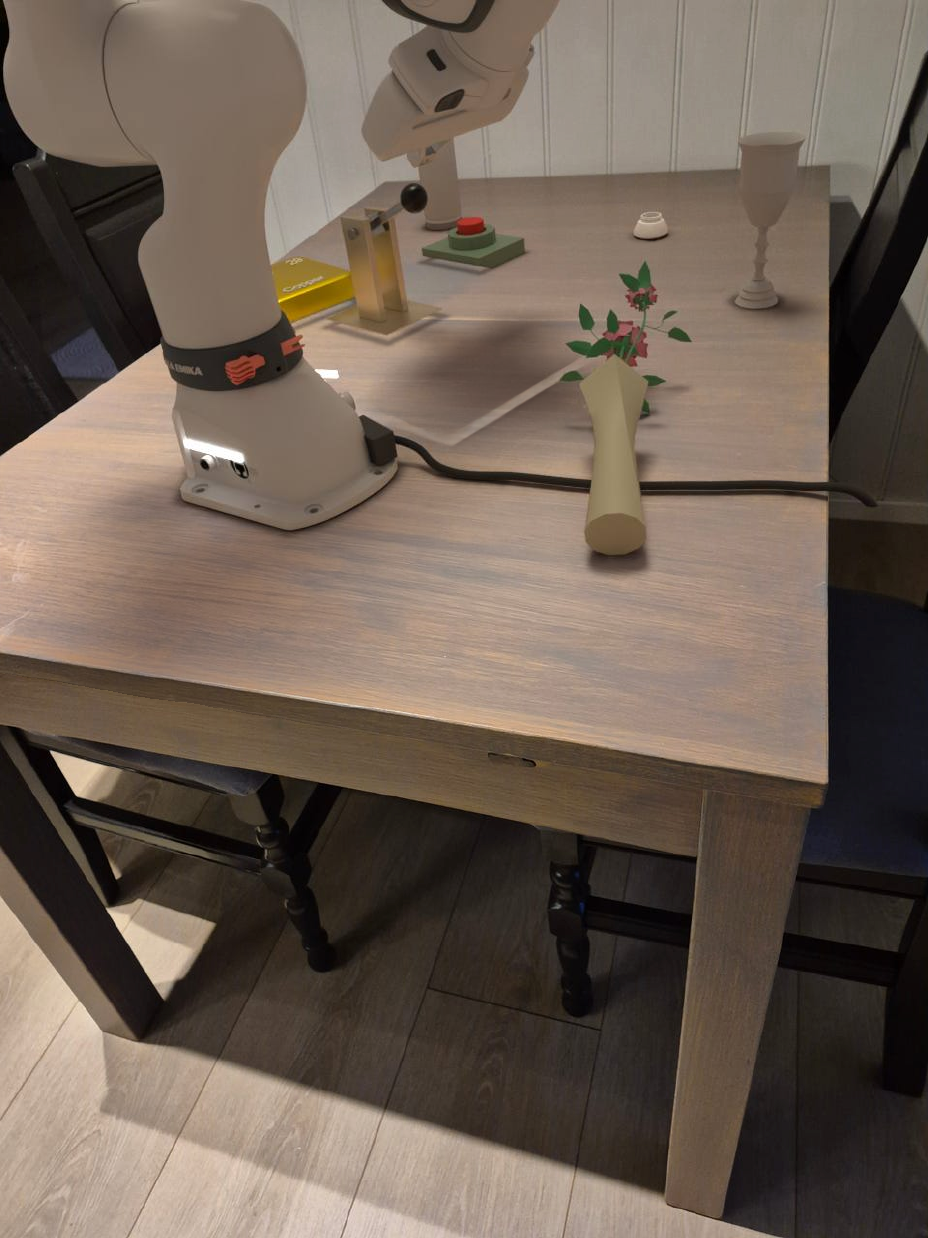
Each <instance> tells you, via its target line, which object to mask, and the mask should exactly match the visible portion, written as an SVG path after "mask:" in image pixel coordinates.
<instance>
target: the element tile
mask: <svg viewBox="0 0 928 1238" xmlns="http://www.w3.org/2000/svg"><path fill="white" fill-rule="evenodd" d="M271 269H272V274H273V278H274V283H275V287H276V292H277V296H278V300H279V305H280V309H281V310H282V311H284V312H285V314H286V316H287V318H288V320H289V322H290V324H291V323H293V322H295V321H298V320H301V319H303V318H306V317H308V316H311V315H313V314H316V313H319V312H321V311H323V310H326V309H329V308H331V307H333V306H337V305H339V304H342V303H344V302H346V301H349V300H351V299H353V298H355V292H354V287H353V281H352V276H351V271H350V269H349V270H348V269H346V268H343V267H340V266H337V265H332V264H329V263H326V262H322V261H319V260H316V259H311V258H309V257H305V256H299V255H298V256H293V257H289V258H287V259H284V260H281V261H279V262H276V263H273V264H271Z"/></svg>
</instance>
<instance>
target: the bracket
mask: <svg viewBox="0 0 928 1238" xmlns="http://www.w3.org/2000/svg"><path fill="white" fill-rule="evenodd" d="M389 208H390V207H381V206H376V205H368V206H365V207H364V208H363V210H364V215H365V216H368V215H371V214H373V213H376V212H377V213H378V215H380V214H382V213H383V212H385V211H386V210H388V209H389ZM365 216H358V215H352V214H343V215H341V216H339V218H340V224H341V228H342V235H343V238H344V244H345V250H346V254H347V259H348V264H349V265H348V266H349V271H350V272H351V276H352V281H353V287H354V292H355V296H354V298H355V302H356V305H354V306H352V307H350V308H347V309H344V310H343V311H340V312H339V313H336V314H334V315H332V316H330V317H327V318H326V320H327V321H331V322H334V323H338V324H343V325H346V326H349V327H352V328H357V329H361V330H365V331H368V332H372V333H375V334H380V335H383V336H387V337H388V336H390V335H391V334H393V333H395V332H398V331H400V330H402V329H404V328H406V327H408V326H410V325H412V324H414V323H416V322H419V321H421V320H422V319H425V318H426V317H428V316H431V315H433V314H435V313H437V312H439V311H441V310H443V308H442V307H439V306H436V305H435V306H434V305H431V304H426V303H422V302H418V301H413V300H408V297H407V290H406V284H405V278H404V271H403V266H402V259H401V252H400V247H399V240H398V239H399V238H398V232H397V227H396V226H397V225H396V220H395V217H394V218H393V219H391V220H390V221H388V222H387V223H385V224H383V226H384V229H385V232H384V233H382V234H380V235H379V236H377V237H376V238H374V239H373V238H372V232H371V226H370V220H369V218H365Z"/></svg>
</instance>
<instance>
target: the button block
mask: <svg viewBox="0 0 928 1238" xmlns="http://www.w3.org/2000/svg"><path fill="white" fill-rule="evenodd" d="M484 229H485V231H484V232H482V233H479V234H475V235H465V236H464V235H458V228H457V227H456V228H452V229H449V231H448V233H447V237H444V238H442V239H440V240H437V241H435V242H433V243H430V244H427V245H426V246H423V247H421V253H422V254H421V255H422V256H423V257H428V258H434V259H438V260H444V261H449V262H455V263H460V264H466V265H471V266H476V267H482V268H488V269H493V268H496V267H498V266H499V265H502V264H504V263H506V262H508V261H510V260H512V259H515V258H517V257H519V256H521V255H523V254H525V253H526V247H525V237H520V236H513V235H507V234H500V233H496V227H494V226H493V225H492V224H489V223H484Z"/></svg>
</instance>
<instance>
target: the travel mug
mask: <svg viewBox="0 0 928 1238" xmlns="http://www.w3.org/2000/svg"><path fill="white" fill-rule="evenodd" d="M454 139H455V138H454ZM454 139H453V140H452V141H451V142H449V143H448V144H447V145H446V146H445V147H444V148H443V149H442V150H441V151H439V153H438V155H437V157H436V159H435V160H434V161H433V162H430V163H427V164H424V165H421V166H418V167H417V170H418V176H419V184H420V185H421V186H423V187H424V189H425V190H426V192H427V195H428V202H427V205H426V207H425V208H424V210H423V213H424V221H425V227H426V229H428V230H429V231H437V232H438V231H447V230H451V229H454V228H456V227H457V222H458V221H459V220H461V219H463V214H462V204H461V194H460V185H459V176H458V168H457V159H456V158H457V157H456V148H455V147H456V146H455V140H454Z"/></svg>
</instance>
